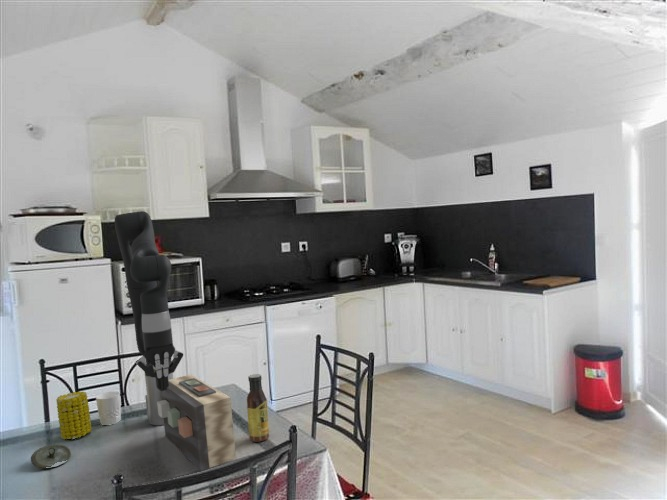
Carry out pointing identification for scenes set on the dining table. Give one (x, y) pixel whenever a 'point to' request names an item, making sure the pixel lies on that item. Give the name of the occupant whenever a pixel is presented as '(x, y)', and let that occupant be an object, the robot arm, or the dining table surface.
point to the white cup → (109, 407)
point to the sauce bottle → (257, 410)
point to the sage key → (173, 417)
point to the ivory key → (163, 408)
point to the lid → (50, 455)
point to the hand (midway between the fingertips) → (163, 389)
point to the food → (73, 415)
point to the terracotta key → (185, 427)
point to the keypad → (201, 421)
